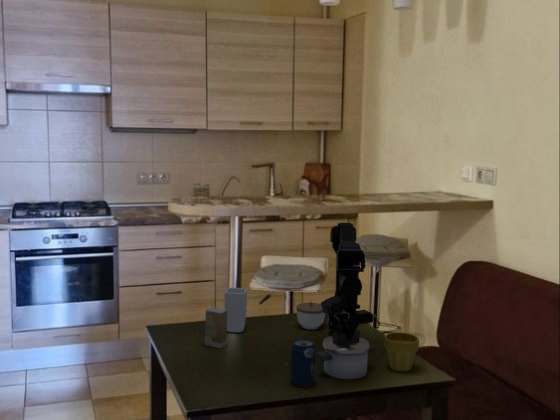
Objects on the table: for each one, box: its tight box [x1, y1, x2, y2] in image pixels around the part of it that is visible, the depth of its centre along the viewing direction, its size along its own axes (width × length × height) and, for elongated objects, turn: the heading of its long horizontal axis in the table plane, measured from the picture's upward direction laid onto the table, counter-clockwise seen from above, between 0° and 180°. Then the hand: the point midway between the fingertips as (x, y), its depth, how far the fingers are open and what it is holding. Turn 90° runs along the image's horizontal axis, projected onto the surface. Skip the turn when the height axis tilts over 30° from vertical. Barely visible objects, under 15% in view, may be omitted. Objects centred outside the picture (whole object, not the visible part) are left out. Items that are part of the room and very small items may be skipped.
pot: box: [315, 344, 376, 380], centre depth 196 cm, size 19×13×7 cm
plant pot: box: [383, 331, 420, 372], centre depth 200 cm, size 10×10×10 cm
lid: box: [322, 328, 370, 355], centre depth 196 cm, size 14×14×5 cm
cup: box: [224, 287, 248, 334], centre depth 231 cm, size 7×7×15 cm
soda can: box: [290, 338, 316, 387], centre depth 186 cm, size 7×7×12 cm
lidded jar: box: [295, 301, 326, 331], centre depth 238 cm, size 11×11×9 cm
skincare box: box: [204, 307, 228, 349], centre depth 216 cm, size 6×4×12 cm
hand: (346, 338), depth 196 cm, fingers closed on lid, 2 cm apart
